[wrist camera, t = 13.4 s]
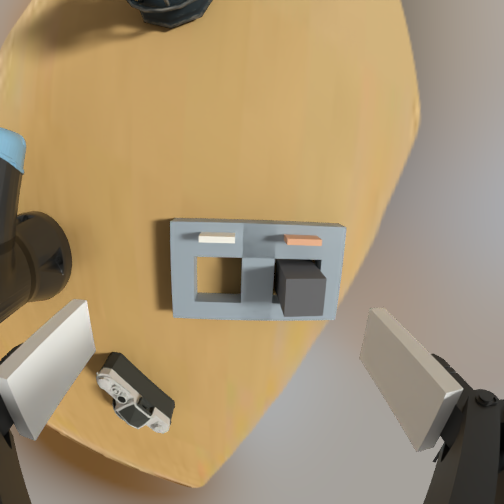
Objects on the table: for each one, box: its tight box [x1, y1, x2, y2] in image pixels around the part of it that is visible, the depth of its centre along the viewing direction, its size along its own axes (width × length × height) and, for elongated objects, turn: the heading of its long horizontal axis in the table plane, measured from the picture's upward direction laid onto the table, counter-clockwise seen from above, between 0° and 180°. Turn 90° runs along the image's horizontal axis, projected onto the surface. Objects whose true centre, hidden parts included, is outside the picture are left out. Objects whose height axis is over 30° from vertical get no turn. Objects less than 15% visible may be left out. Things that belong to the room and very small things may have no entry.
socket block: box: [170, 218, 346, 320], centre depth 43 cm, size 24×14×7 cm, turn 88°
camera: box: [96, 352, 175, 433], centre depth 47 cm, size 16×9×10 cm, turn 39°
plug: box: [275, 259, 327, 317], centre depth 42 cm, size 5×5×10 cm
